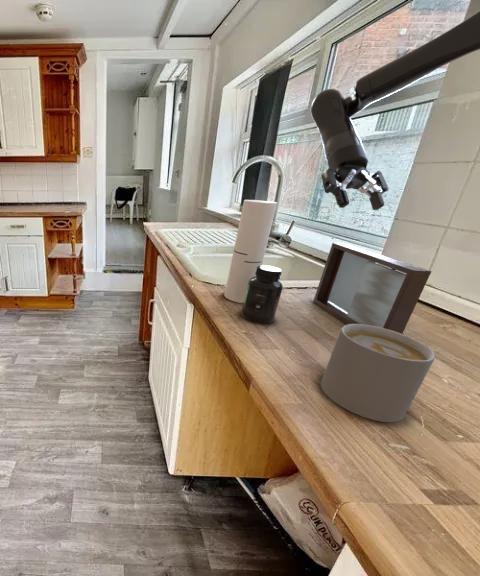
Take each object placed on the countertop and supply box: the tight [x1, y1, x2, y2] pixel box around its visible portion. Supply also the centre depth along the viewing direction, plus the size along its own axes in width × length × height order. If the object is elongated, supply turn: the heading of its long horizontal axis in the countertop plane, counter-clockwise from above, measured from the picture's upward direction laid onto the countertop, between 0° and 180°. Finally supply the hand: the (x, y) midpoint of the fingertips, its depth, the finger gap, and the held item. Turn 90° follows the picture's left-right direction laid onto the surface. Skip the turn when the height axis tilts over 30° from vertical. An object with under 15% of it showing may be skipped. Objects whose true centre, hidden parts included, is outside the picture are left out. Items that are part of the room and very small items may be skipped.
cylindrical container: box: [223, 199, 278, 304], centre depth 77 cm, size 7×7×25 cm
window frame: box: [313, 242, 432, 335], centre depth 68 cm, size 22×3×16 cm, turn 177°
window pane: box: [326, 251, 395, 312], centre depth 73 cm, size 10×9×13 cm
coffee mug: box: [320, 324, 436, 423], centre depth 46 cm, size 13×10×10 cm
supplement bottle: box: [241, 264, 284, 325], centre depth 69 cm, size 7×7×12 cm
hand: (361, 207), depth 73 cm, fingers open, 8 cm apart
